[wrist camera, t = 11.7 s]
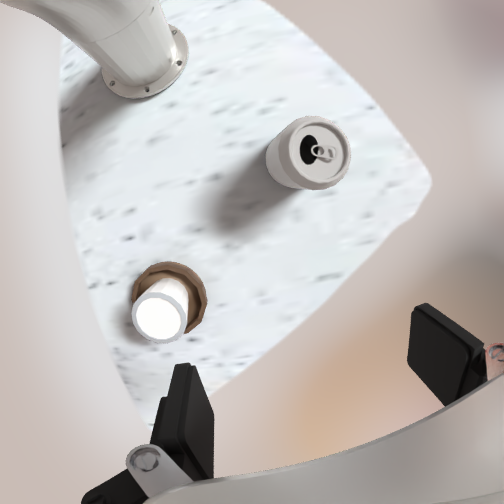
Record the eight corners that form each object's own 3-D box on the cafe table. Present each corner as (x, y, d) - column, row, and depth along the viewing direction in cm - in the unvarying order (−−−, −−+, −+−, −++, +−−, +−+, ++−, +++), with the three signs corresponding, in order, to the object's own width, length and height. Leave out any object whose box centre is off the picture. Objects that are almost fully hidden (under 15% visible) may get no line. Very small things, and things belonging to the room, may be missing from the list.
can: (266, 129, 35) (284, 106, 23) (321, 136, 36) (359, 119, 24) (262, 185, 37) (278, 186, 25) (317, 190, 37) (354, 195, 26)
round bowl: (128, 269, 38) (123, 273, 36) (196, 254, 38) (194, 258, 36) (149, 332, 40) (146, 339, 38) (213, 321, 40) (213, 328, 38)
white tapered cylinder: (198, 314, 39) (194, 339, 33) (154, 322, 39) (142, 347, 32) (185, 268, 38) (177, 287, 31) (139, 278, 37) (123, 297, 31)
